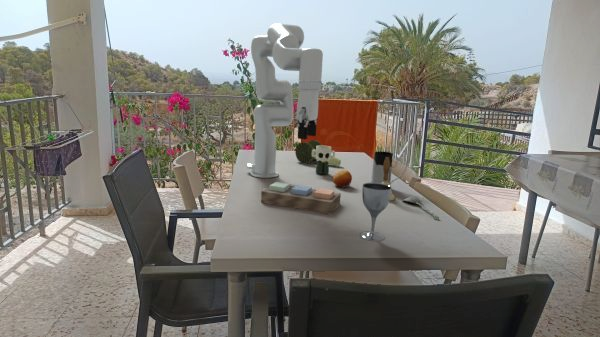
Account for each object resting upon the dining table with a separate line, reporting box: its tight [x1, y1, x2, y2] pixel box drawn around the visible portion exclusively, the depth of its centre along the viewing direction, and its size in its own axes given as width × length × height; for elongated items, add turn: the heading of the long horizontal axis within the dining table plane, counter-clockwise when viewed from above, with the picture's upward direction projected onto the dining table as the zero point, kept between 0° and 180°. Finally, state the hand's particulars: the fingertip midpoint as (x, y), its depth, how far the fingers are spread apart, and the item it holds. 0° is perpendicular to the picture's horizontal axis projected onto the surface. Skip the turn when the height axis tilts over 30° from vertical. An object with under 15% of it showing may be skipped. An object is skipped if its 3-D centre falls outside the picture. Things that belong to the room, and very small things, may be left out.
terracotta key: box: [314, 187, 335, 200], centre depth 139 cm, size 6×6×3 cm
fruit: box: [332, 169, 353, 188], centre depth 168 cm, size 8×8×8 cm
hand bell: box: [382, 157, 396, 202], centre depth 153 cm, size 8×8×16 cm
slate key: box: [291, 184, 313, 196], centre depth 141 cm, size 6×6×3 cm
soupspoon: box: [402, 196, 440, 220], centre depth 143 cm, size 22×3×7 cm
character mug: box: [312, 144, 336, 175], centre depth 187 cm, size 11×7×13 cm, turn 93°
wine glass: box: [359, 182, 392, 242], centre depth 114 cm, size 8×8×15 cm
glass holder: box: [370, 151, 408, 185], centre depth 167 cm, size 9×14×15 cm, turn 70°
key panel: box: [260, 185, 342, 215], centre depth 142 cm, size 26×12×4 cm, turn 70°
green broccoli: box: [294, 139, 342, 168], centre depth 210 cm, size 25×12×11 cm, turn 58°
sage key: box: [269, 181, 291, 192], centre depth 144 cm, size 6×6×3 cm
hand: (306, 137), depth 138 cm, fingers open, 9 cm apart
